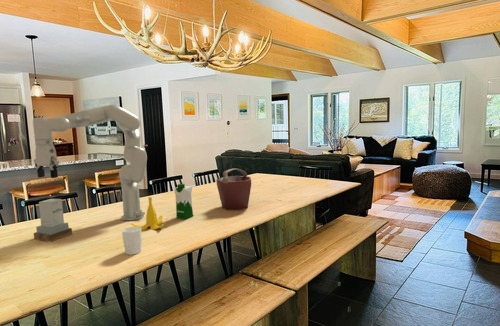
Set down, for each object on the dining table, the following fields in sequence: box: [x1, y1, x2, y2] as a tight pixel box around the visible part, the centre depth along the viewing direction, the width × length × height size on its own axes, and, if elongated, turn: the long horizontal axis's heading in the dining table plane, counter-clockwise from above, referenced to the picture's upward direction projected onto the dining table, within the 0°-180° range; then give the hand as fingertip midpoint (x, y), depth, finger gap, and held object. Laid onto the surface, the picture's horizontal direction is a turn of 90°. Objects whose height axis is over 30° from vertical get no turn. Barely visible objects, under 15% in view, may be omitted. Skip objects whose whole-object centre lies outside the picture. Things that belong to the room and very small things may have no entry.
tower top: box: [35, 222, 70, 235], centre depth 169 cm, size 10×10×3 cm
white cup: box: [121, 226, 143, 256], centre depth 145 cm, size 8×8×10 cm
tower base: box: [33, 227, 73, 243], centre depth 170 cm, size 12×12×3 cm
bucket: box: [216, 168, 252, 211], centre depth 217 cm, size 24×22×25 cm
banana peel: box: [130, 196, 164, 230], centre depth 179 cm, size 17×19×17 cm
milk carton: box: [173, 183, 194, 220], centre depth 196 cm, size 9×9×20 cm
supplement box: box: [38, 198, 65, 227], centre depth 168 cm, size 7×7×13 cm
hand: (47, 177), depth 166 cm, fingers open, 9 cm apart
